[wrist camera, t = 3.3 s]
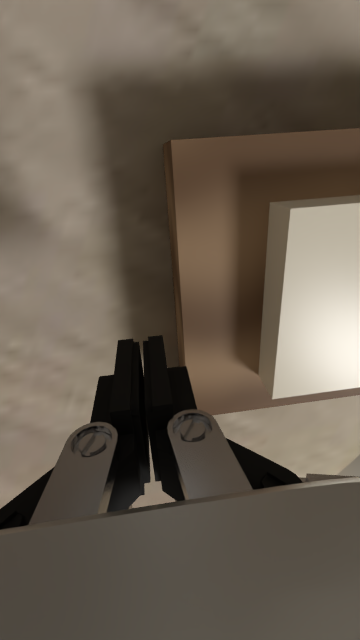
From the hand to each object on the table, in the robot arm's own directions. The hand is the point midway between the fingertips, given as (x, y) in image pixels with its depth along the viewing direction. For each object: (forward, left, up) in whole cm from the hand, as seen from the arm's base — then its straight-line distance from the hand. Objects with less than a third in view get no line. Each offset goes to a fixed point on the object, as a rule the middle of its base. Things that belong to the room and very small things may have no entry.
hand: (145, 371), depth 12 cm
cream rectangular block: (-1, +9, -4) cm, 10 cm away
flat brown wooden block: (-1, +8, -8) cm, 11 cm away
